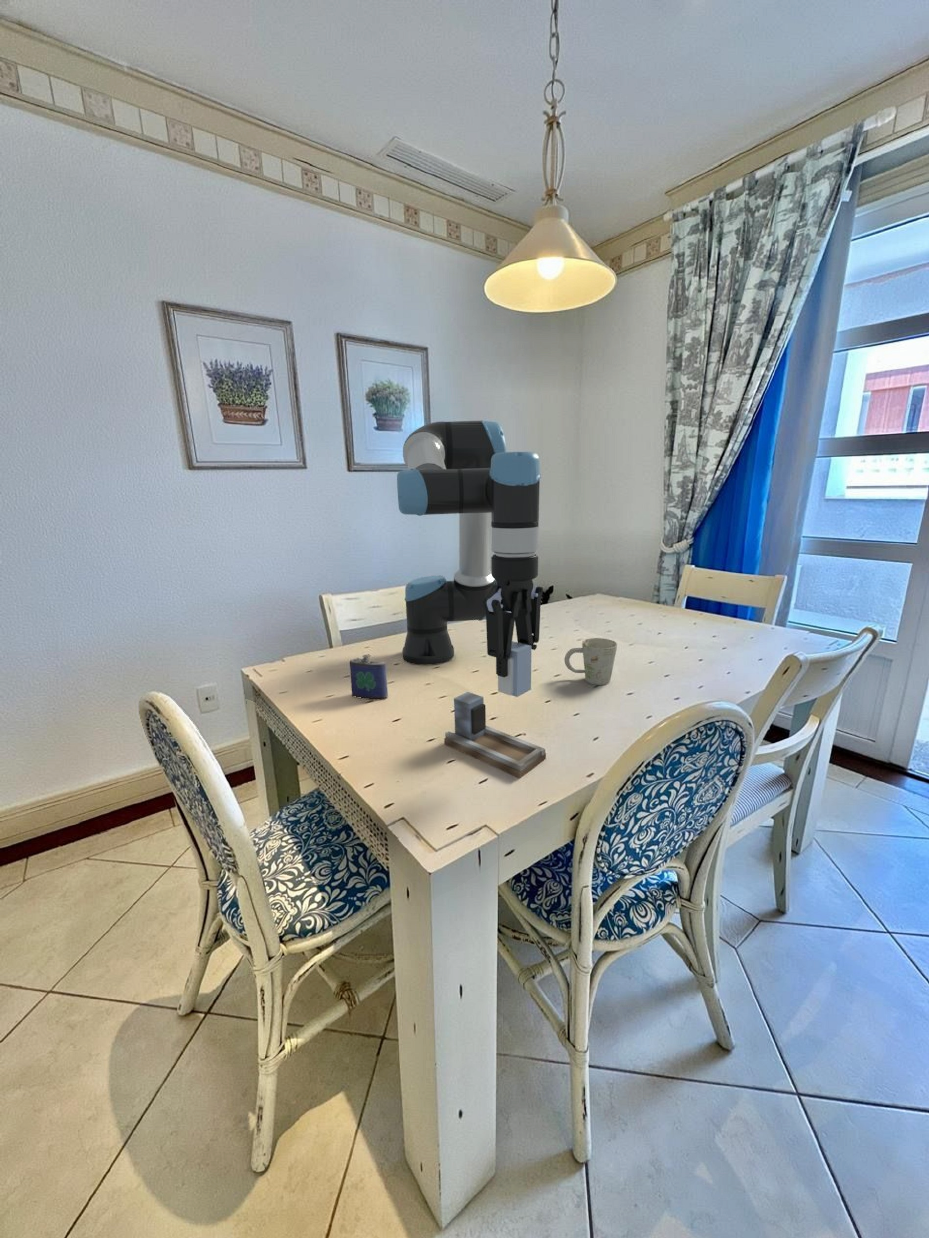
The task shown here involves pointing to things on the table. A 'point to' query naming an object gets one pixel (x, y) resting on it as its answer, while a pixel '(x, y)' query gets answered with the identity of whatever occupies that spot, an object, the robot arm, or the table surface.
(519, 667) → the blue-grey rectangular block
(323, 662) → the table surface
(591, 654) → the mug
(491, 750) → the rail board
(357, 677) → the flask
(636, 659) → the table surface
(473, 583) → the robot arm
